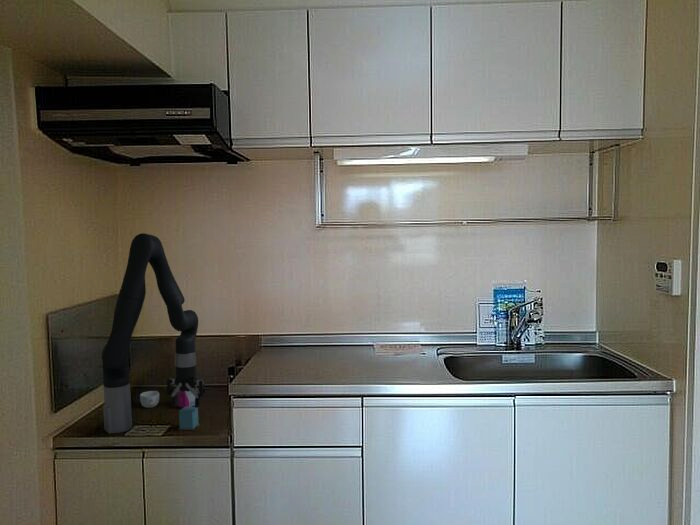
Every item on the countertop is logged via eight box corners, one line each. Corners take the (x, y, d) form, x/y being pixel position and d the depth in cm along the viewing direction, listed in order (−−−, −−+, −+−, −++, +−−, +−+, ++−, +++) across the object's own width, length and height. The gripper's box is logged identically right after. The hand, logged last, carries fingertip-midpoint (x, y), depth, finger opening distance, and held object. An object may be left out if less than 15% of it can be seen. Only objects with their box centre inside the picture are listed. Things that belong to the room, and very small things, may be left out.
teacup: (138, 405, 246) (137, 393, 246) (156, 402, 250) (156, 389, 250) (144, 411, 238) (143, 399, 237) (163, 408, 242) (162, 395, 241)
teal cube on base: (192, 428, 216) (192, 411, 215) (179, 428, 217) (178, 411, 216) (198, 423, 221) (197, 407, 221) (185, 423, 222) (184, 406, 221)
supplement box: (189, 403, 247) (187, 377, 246) (197, 406, 244) (196, 379, 243) (177, 407, 243) (176, 380, 242) (185, 409, 239) (184, 382, 238)
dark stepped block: (193, 430, 216) (192, 413, 215) (178, 430, 216) (177, 413, 216) (199, 424, 221) (199, 408, 221) (184, 424, 222) (184, 407, 222)
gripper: (207, 362, 219) (208, 404, 220) (172, 360, 221) (173, 402, 222) (199, 367, 211) (200, 410, 212) (163, 365, 214) (163, 408, 215)
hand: (186, 406), depth 217 cm, fingers open, 8 cm apart
